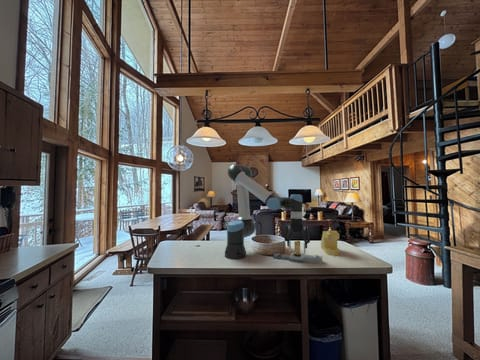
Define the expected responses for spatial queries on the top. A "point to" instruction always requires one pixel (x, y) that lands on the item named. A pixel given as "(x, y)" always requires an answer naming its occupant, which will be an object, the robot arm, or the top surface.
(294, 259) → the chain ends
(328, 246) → the yellow irregular block
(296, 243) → the pin
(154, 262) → the top surface
